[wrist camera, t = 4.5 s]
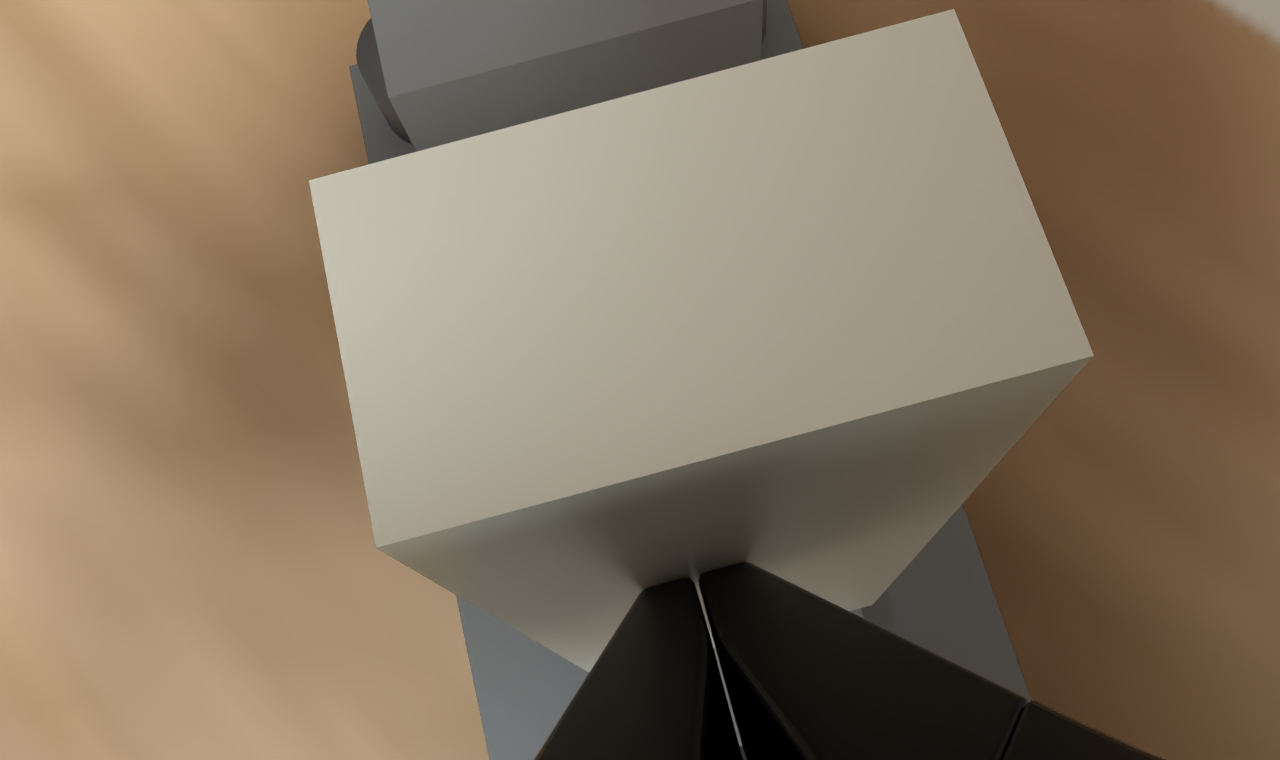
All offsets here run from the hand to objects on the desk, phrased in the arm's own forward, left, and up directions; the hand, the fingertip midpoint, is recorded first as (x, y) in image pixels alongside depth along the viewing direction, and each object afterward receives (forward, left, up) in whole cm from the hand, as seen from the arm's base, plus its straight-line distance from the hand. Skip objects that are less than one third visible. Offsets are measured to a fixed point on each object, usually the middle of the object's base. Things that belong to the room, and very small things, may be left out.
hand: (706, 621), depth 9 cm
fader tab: (+1, 0, -7) cm, 7 cm away
